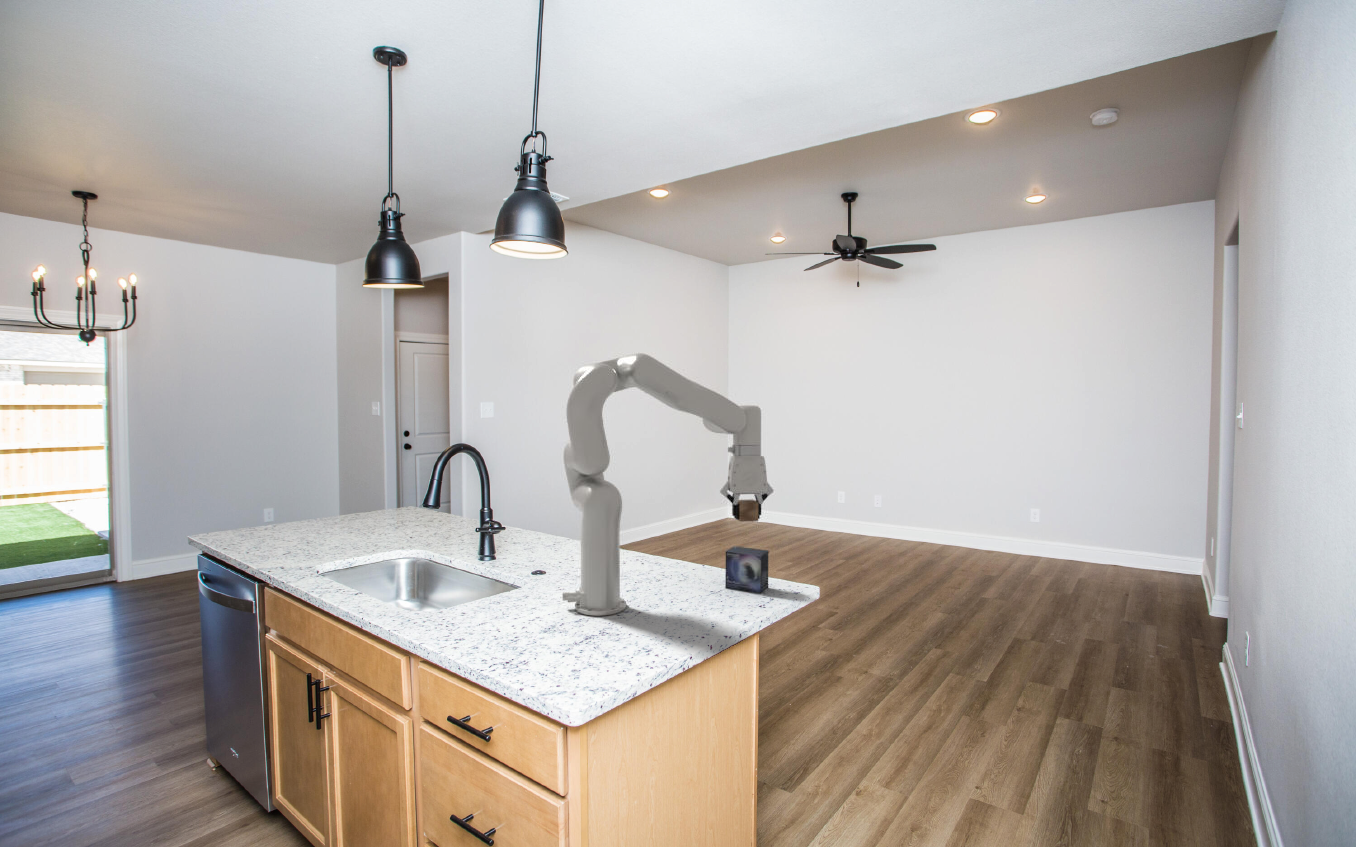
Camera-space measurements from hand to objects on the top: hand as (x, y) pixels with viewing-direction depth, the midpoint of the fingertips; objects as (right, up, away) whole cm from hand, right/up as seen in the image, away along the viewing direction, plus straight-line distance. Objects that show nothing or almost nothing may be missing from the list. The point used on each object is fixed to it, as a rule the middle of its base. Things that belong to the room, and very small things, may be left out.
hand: (746, 517), depth 177 cm
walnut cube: (0, -1, 0) cm, 1 cm away
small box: (0, -20, +1) cm, 20 cm away
